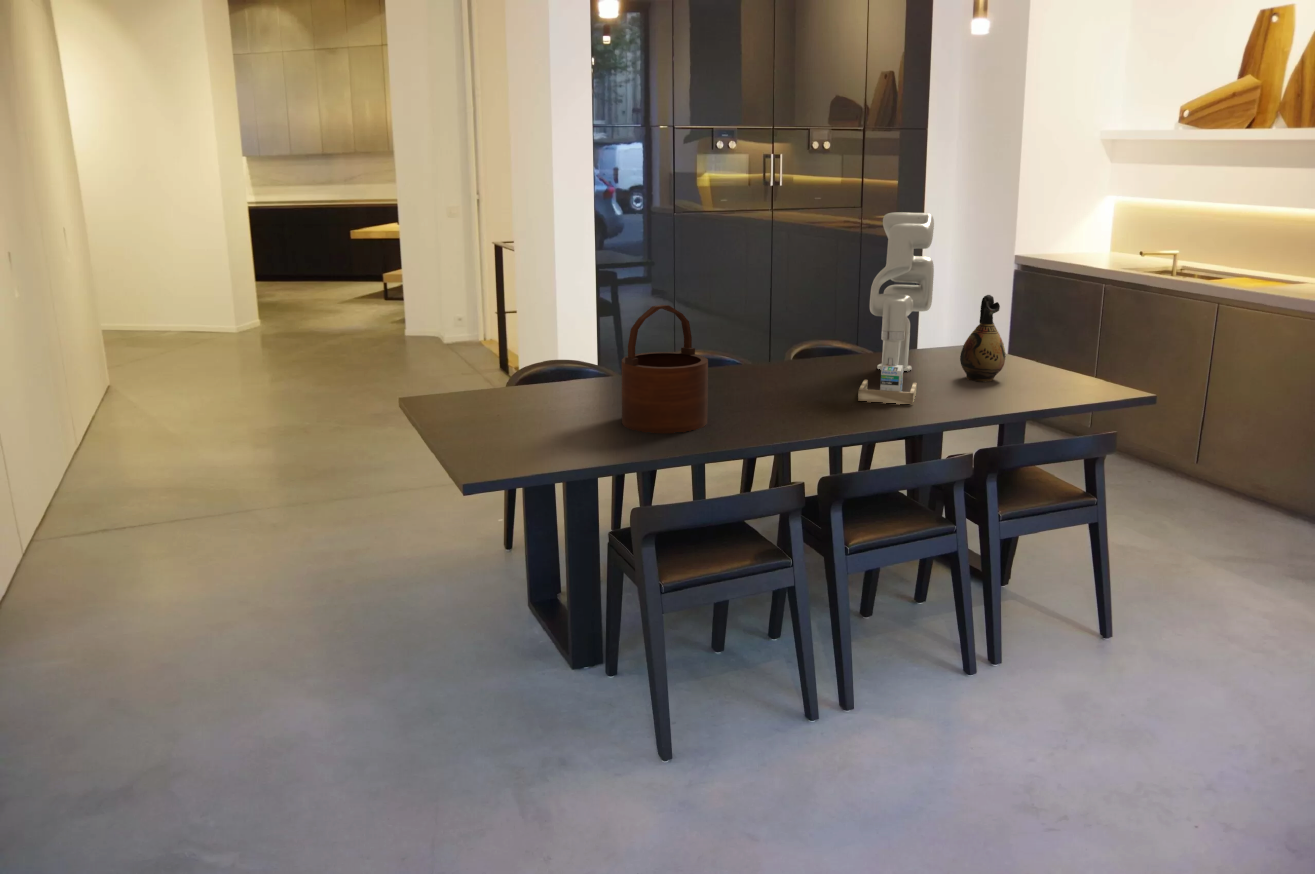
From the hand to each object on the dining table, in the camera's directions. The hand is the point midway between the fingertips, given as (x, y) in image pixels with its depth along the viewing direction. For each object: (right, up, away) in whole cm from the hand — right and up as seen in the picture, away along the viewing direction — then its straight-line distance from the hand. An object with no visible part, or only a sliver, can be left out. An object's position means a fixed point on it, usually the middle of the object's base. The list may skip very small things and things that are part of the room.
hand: (889, 389), depth 346 cm
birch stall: (-2, -3, -6) cm, 7 cm away
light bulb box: (-2, -4, -8) cm, 9 cm away
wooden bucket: (-76, -12, -37) cm, 86 cm away
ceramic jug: (+38, +5, +23) cm, 45 cm away
